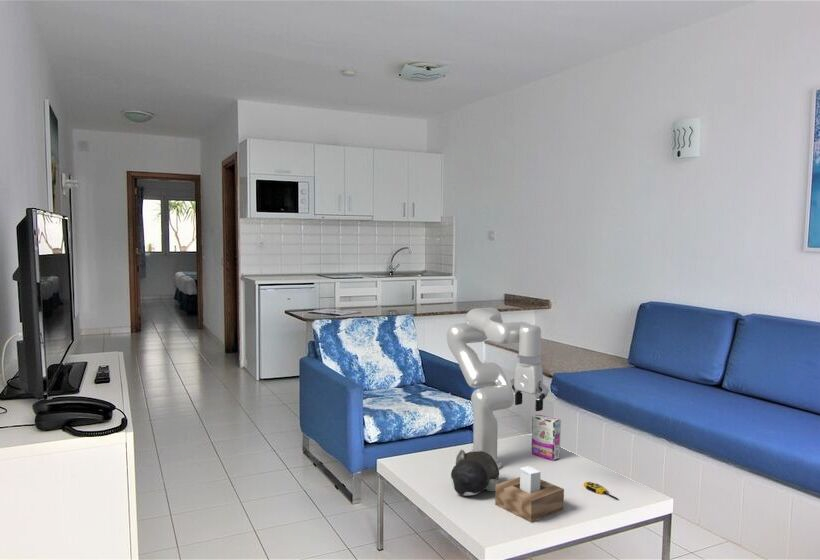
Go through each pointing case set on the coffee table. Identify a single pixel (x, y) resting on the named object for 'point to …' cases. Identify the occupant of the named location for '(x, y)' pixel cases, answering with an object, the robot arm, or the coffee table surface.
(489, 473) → the dark grey rounded piece
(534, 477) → the skincare box
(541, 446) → the candy bar box
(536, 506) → the socket block
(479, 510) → the coffee table surface
